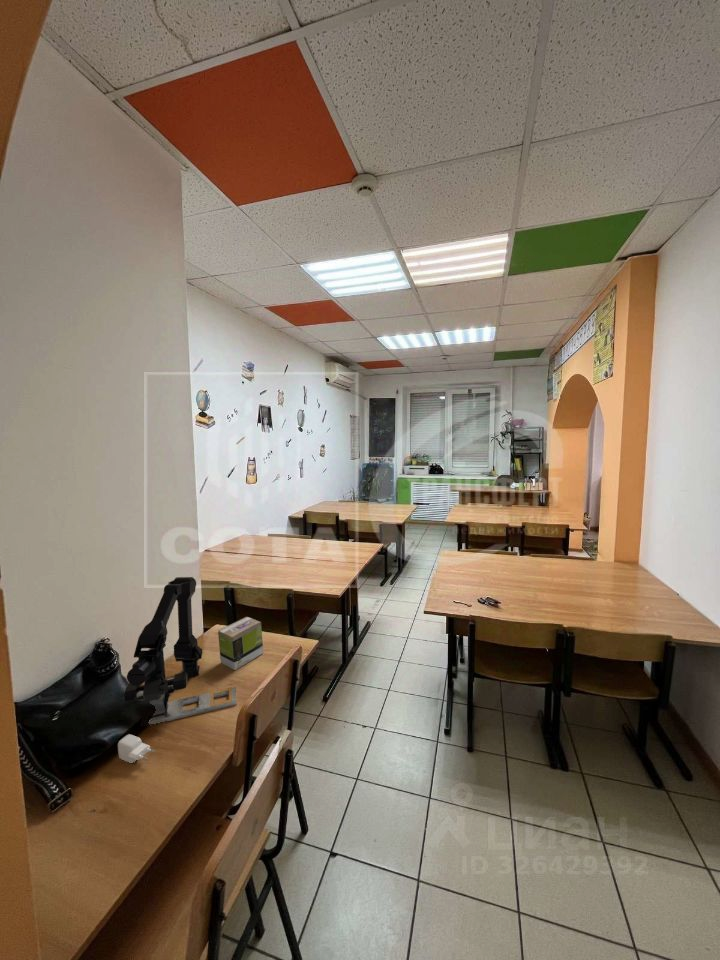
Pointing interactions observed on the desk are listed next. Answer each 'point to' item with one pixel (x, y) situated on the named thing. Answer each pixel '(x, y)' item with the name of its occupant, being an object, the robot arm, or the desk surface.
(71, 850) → the desk surface
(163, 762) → the desk surface
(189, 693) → the desk surface
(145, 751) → the power adapter
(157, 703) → the nut block
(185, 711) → the rail
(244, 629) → the tea box
